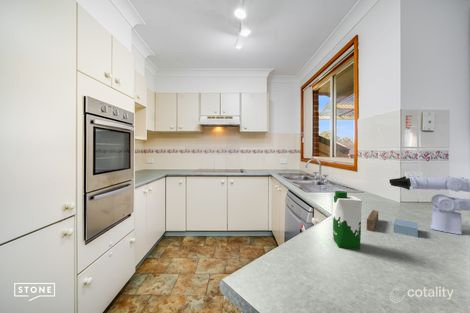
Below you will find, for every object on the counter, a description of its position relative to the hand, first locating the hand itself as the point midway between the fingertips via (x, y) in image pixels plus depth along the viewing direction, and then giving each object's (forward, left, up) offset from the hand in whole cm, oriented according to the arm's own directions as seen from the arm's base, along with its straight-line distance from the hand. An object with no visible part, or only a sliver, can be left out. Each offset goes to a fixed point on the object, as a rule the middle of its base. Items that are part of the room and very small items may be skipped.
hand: (390, 182), depth 105 cm
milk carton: (+11, +45, -20) cm, 51 cm away
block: (-6, +12, -21) cm, 25 cm away
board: (+6, +12, -20) cm, 24 cm away
